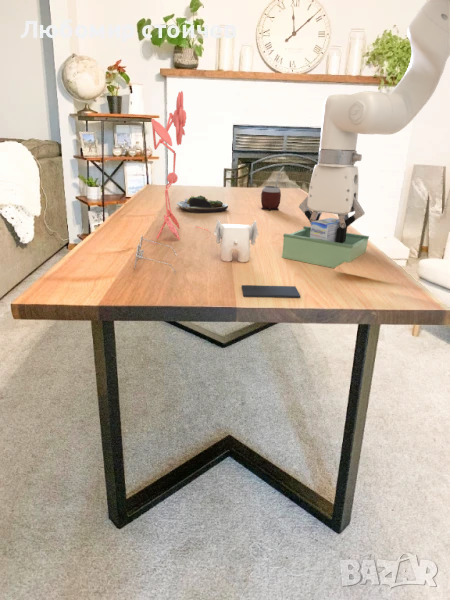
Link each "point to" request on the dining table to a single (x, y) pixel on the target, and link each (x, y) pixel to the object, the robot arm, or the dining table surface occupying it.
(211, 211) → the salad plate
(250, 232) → the elephant figurine
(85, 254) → the dining table surface
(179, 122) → the figurine
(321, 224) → the medicine box
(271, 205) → the mate gourd
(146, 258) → the sunglasses
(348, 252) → the basket
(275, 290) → the mat
